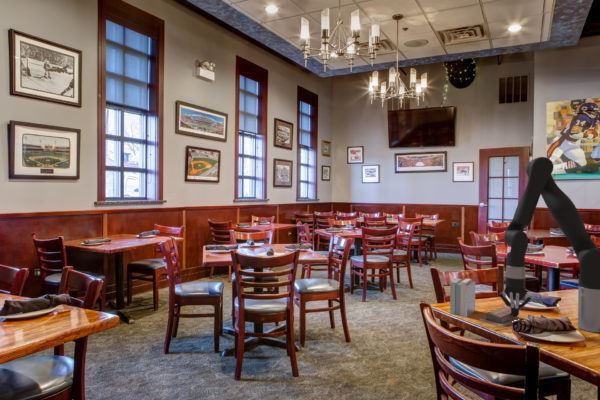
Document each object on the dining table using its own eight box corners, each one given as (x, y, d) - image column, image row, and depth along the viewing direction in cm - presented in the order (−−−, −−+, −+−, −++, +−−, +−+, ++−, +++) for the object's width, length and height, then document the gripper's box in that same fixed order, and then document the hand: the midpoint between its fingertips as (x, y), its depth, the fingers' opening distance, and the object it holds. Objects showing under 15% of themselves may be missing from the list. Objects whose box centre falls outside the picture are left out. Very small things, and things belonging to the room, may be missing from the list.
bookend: (475, 311, 195) (475, 281, 195) (467, 318, 184) (467, 286, 184) (458, 308, 200) (458, 279, 200) (449, 315, 189) (450, 284, 188)
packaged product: (500, 305, 190) (522, 310, 182) (500, 315, 190) (522, 321, 182) (479, 311, 179) (501, 317, 171) (479, 322, 180) (501, 328, 172)
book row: (471, 310, 194) (471, 279, 194) (465, 315, 186) (465, 282, 186) (456, 308, 198) (456, 277, 198) (450, 313, 190) (450, 280, 190)
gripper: (534, 276, 177) (533, 317, 177) (500, 273, 185) (499, 311, 185) (531, 279, 171) (531, 321, 171) (496, 275, 179) (496, 315, 179)
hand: (514, 316), depth 178 cm, fingers closed
